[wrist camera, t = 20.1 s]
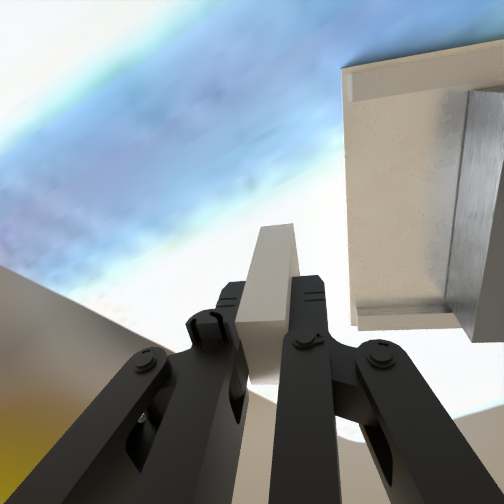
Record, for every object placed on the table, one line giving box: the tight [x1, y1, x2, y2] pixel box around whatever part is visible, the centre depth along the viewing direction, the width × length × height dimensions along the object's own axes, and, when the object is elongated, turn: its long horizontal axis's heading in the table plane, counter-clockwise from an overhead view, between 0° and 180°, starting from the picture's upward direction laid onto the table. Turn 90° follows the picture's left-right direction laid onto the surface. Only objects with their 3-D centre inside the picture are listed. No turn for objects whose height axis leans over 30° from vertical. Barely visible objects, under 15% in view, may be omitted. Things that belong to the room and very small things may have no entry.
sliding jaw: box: [446, 85, 504, 343], centre depth 22 cm, size 16×3×5 cm, turn 9°
